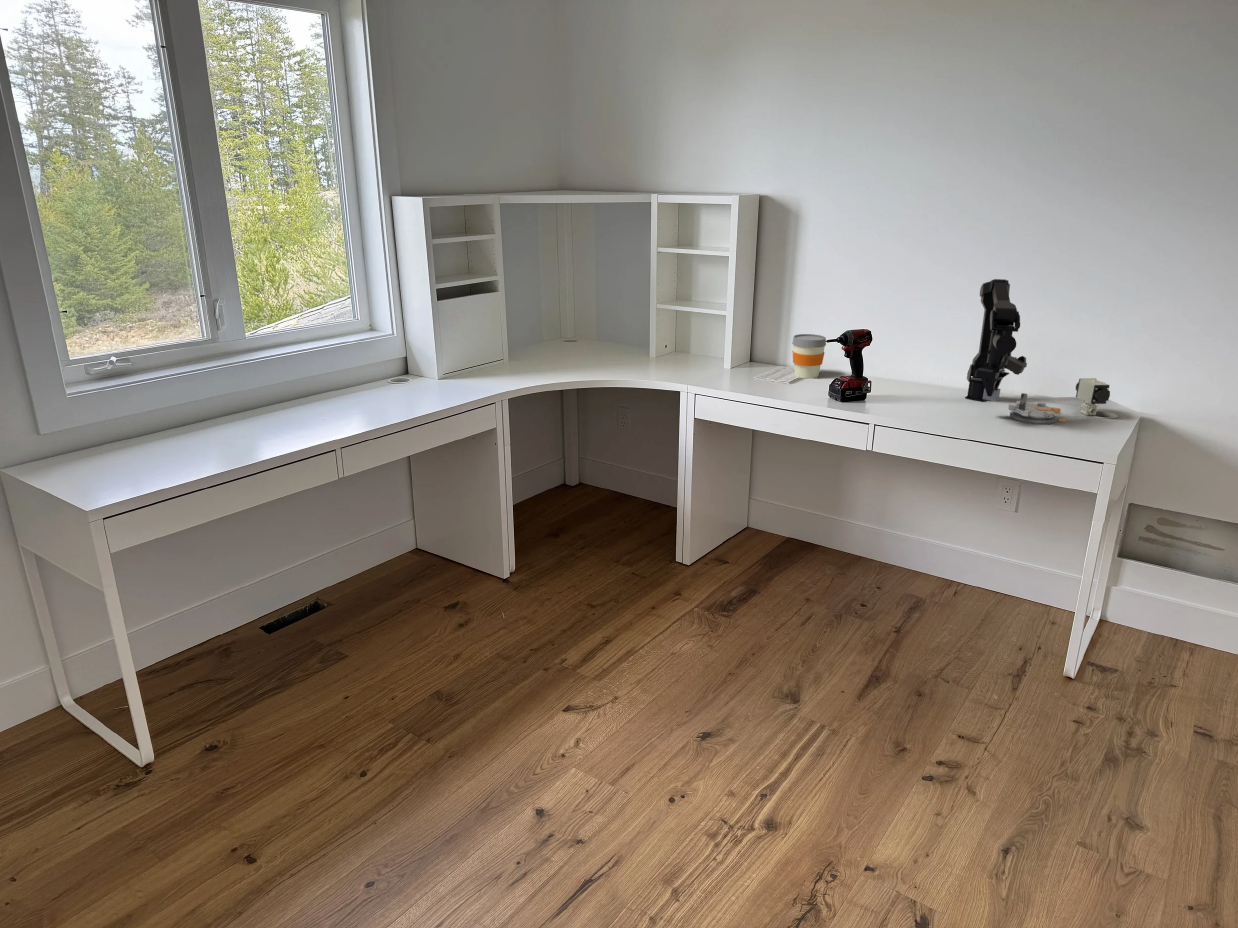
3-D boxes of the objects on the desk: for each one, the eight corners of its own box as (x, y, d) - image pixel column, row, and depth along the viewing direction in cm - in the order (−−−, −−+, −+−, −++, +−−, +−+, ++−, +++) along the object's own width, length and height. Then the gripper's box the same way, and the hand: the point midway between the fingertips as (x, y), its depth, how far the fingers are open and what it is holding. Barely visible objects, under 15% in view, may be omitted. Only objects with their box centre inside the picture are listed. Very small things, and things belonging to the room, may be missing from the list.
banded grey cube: (982, 398, 266) (984, 388, 265) (986, 397, 268) (987, 386, 267) (995, 401, 263) (997, 390, 262) (998, 399, 265) (1000, 388, 264)
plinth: (1003, 418, 267) (1003, 415, 266) (1017, 409, 276) (1018, 407, 276) (1056, 428, 256) (1056, 425, 256) (1069, 419, 266) (1070, 416, 266)
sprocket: (1028, 422, 258) (1032, 400, 256) (999, 408, 272) (1002, 388, 270) (1068, 420, 261) (1073, 398, 258) (1037, 407, 275) (1041, 386, 272)
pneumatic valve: (1091, 419, 266) (1099, 383, 262) (1070, 409, 277) (1077, 374, 273) (1108, 419, 267) (1115, 382, 262) (1086, 409, 278) (1093, 374, 273)
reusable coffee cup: (783, 375, 320) (786, 336, 315) (803, 370, 328) (806, 332, 323) (809, 381, 311) (813, 341, 306) (829, 376, 319) (833, 337, 314)
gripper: (1015, 355, 248) (1007, 405, 253) (1035, 346, 261) (1027, 394, 266) (978, 350, 255) (970, 399, 261) (999, 341, 268) (992, 388, 273)
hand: (991, 395), depth 265 cm, fingers closed on banded grey cube, 3 cm apart
